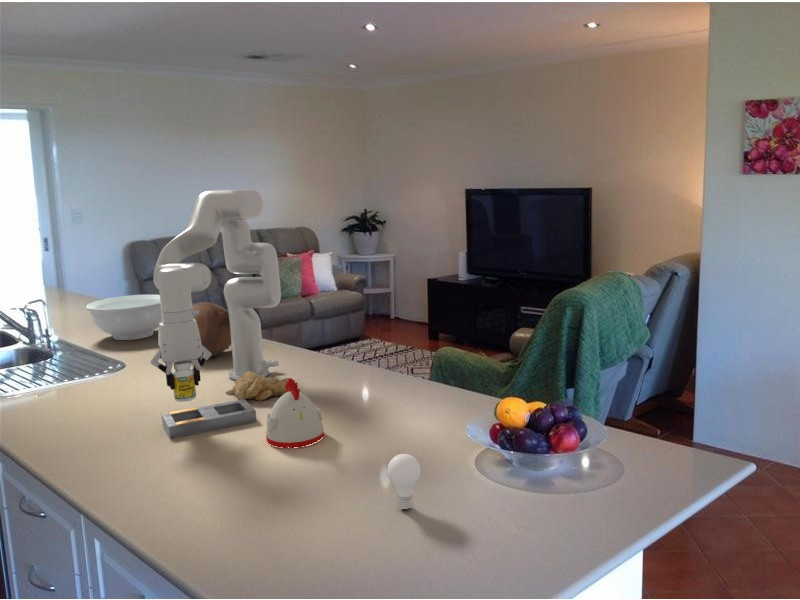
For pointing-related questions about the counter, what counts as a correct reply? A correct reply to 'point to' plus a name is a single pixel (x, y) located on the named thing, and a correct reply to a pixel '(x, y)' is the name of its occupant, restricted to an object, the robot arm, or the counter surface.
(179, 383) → the supplement bottle
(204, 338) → the brown round lump
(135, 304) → the bowl
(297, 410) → the kitchen timer
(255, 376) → the ginger root
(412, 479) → the lightbulb
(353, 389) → the counter surface
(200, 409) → the cinder block
